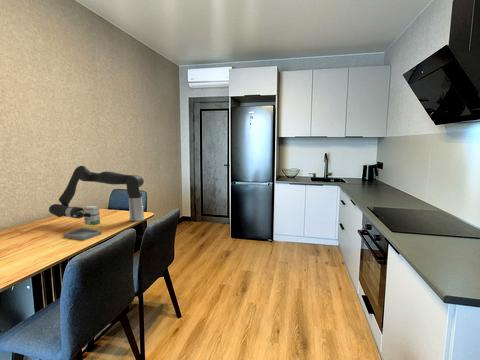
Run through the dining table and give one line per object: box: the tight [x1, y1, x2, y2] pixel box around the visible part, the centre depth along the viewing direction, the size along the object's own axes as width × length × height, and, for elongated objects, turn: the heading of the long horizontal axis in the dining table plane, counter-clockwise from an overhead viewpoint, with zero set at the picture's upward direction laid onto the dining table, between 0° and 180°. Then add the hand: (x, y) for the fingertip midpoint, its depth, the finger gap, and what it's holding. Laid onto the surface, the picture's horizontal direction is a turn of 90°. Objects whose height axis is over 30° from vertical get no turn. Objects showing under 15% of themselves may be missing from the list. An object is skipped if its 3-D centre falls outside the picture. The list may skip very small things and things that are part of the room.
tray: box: [63, 227, 103, 241], centre depth 165 cm, size 13×17×2 cm
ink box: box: [82, 205, 101, 226], centre depth 177 cm, size 9×5×12 cm, turn 71°
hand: (93, 214), depth 177 cm, fingers closed on ink box, 5 cm apart
